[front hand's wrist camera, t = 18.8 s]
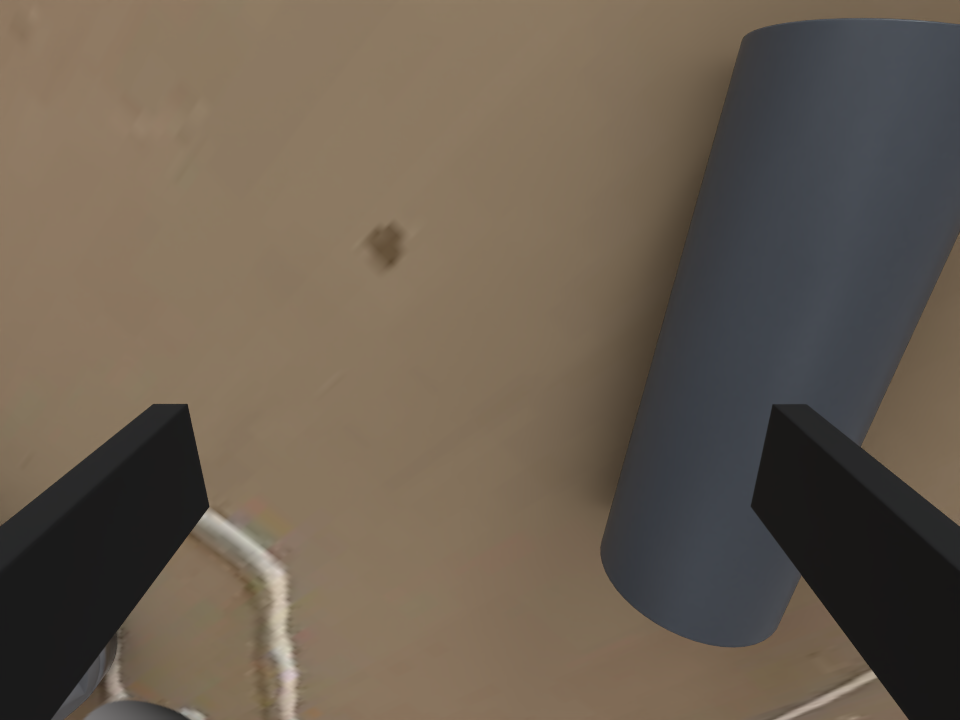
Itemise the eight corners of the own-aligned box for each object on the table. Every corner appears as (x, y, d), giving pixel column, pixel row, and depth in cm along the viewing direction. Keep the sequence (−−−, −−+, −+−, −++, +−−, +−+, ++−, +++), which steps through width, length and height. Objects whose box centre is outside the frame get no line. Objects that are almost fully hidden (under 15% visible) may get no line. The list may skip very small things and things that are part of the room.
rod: (715, 52, 24) (796, 2, 16) (928, 82, 23) (1129, 45, 15) (595, 504, 33) (607, 623, 25) (747, 535, 32) (811, 667, 24)
